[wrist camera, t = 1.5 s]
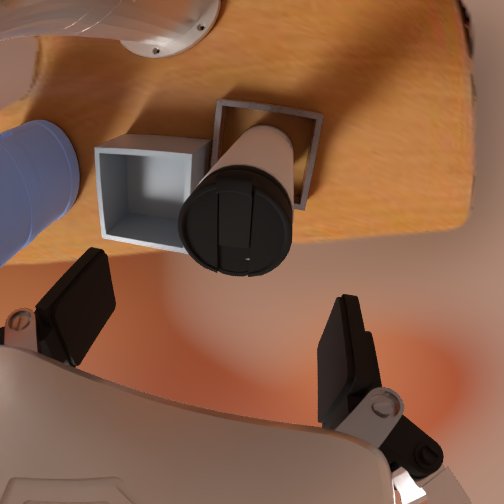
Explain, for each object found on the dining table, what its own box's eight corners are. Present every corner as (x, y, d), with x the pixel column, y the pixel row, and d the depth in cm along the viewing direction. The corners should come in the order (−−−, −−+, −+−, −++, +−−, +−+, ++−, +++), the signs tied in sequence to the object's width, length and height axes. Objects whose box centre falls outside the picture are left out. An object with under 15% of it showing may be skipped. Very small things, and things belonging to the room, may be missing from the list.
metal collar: (222, 97, 30) (217, 99, 28) (321, 112, 29) (323, 114, 27) (213, 187, 35) (208, 194, 33) (303, 201, 35) (304, 210, 33)
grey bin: (126, 133, 33) (94, 147, 27) (211, 139, 32) (192, 154, 26) (128, 212, 39) (102, 238, 33) (205, 224, 38) (188, 254, 32)
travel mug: (296, 124, 30) (302, 183, 14) (290, 181, 34) (284, 296, 17) (238, 118, 31) (169, 170, 14) (235, 175, 34) (176, 281, 17)
